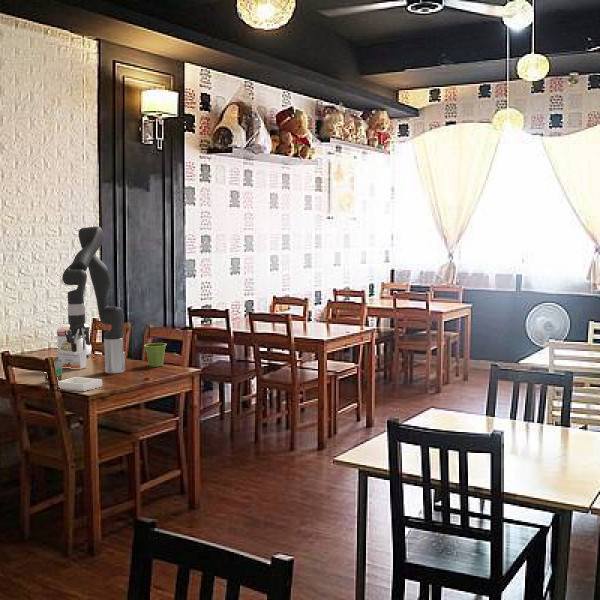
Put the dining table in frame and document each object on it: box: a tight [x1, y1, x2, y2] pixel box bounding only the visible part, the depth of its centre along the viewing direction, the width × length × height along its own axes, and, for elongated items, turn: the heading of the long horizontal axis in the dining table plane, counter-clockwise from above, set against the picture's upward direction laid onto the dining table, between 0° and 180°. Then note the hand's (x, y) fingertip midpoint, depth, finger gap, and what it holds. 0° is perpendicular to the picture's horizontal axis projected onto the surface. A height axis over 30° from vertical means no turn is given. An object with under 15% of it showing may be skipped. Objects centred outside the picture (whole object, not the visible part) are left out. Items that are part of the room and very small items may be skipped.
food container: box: [44, 358, 63, 385], centre depth 369 cm, size 12×6×10 cm, turn 168°
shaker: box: [73, 336, 83, 354], centre depth 353 cm, size 4×4×8 cm
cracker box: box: [56, 328, 88, 369], centre depth 405 cm, size 14×6×21 cm, turn 68°
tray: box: [58, 376, 103, 392], centre depth 355 cm, size 12×16×4 cm
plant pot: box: [143, 342, 168, 368], centre depth 408 cm, size 12×12×11 cm
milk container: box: [59, 323, 92, 357], centre depth 439 cm, size 17×17×18 cm
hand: (78, 350), depth 354 cm, fingers closed on shaker, 4 cm apart
